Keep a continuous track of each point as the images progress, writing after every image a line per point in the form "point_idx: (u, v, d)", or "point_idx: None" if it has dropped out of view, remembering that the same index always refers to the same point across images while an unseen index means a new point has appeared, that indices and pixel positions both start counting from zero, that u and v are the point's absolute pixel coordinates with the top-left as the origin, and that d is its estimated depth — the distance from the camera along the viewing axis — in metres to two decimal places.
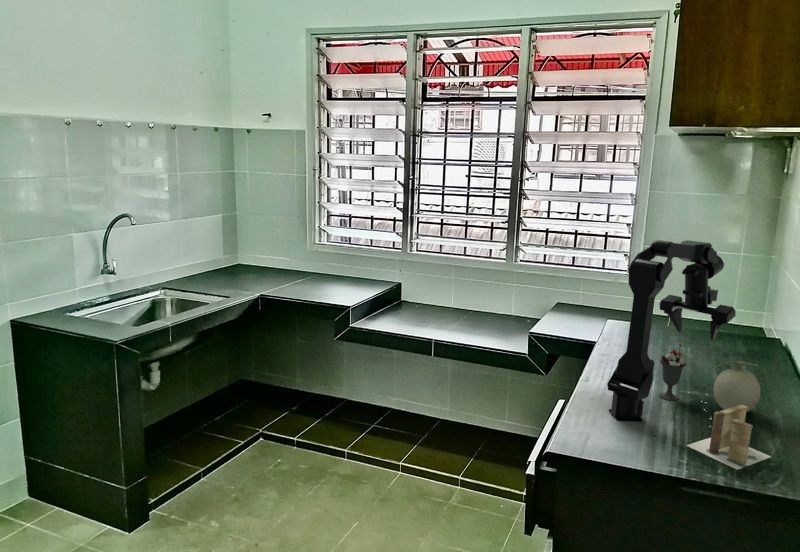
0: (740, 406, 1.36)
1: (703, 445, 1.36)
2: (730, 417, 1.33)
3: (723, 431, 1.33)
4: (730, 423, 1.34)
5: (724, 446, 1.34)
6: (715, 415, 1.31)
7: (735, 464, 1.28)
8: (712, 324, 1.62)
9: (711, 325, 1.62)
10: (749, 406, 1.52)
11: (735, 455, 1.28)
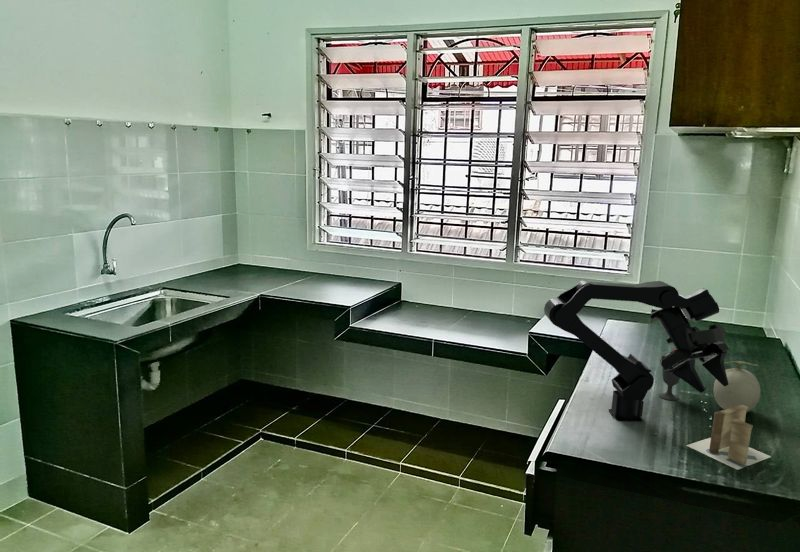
0: (740, 406, 1.36)
1: (703, 445, 1.36)
2: (730, 417, 1.33)
3: (723, 431, 1.33)
4: (730, 423, 1.34)
5: (724, 446, 1.34)
6: (715, 415, 1.31)
7: (735, 464, 1.28)
8: None
9: None
10: (749, 406, 1.52)
11: (735, 455, 1.28)
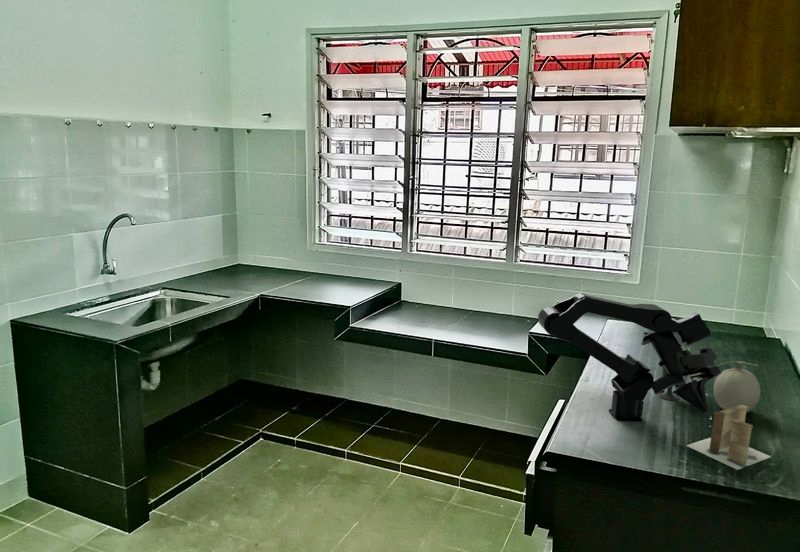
0: (740, 406, 1.36)
1: (703, 445, 1.36)
2: (730, 417, 1.33)
3: (723, 431, 1.33)
4: (730, 423, 1.34)
5: (724, 446, 1.34)
6: (715, 415, 1.31)
7: (735, 464, 1.28)
8: None
9: None
10: (749, 406, 1.52)
11: (735, 455, 1.28)
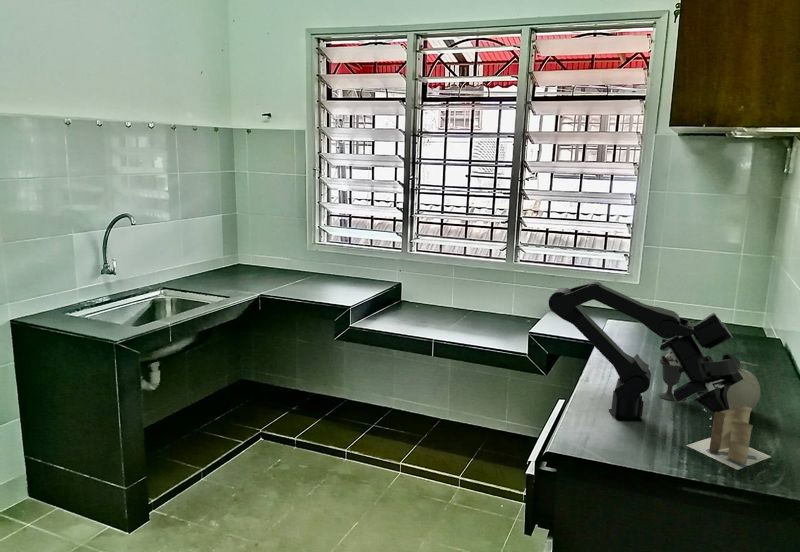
0: (743, 407, 1.35)
1: (703, 445, 1.36)
2: (731, 418, 1.33)
3: (724, 431, 1.33)
4: (731, 424, 1.33)
5: (725, 447, 1.34)
6: (715, 415, 1.31)
7: (735, 464, 1.28)
8: None
9: None
10: (749, 406, 1.52)
11: (735, 455, 1.28)
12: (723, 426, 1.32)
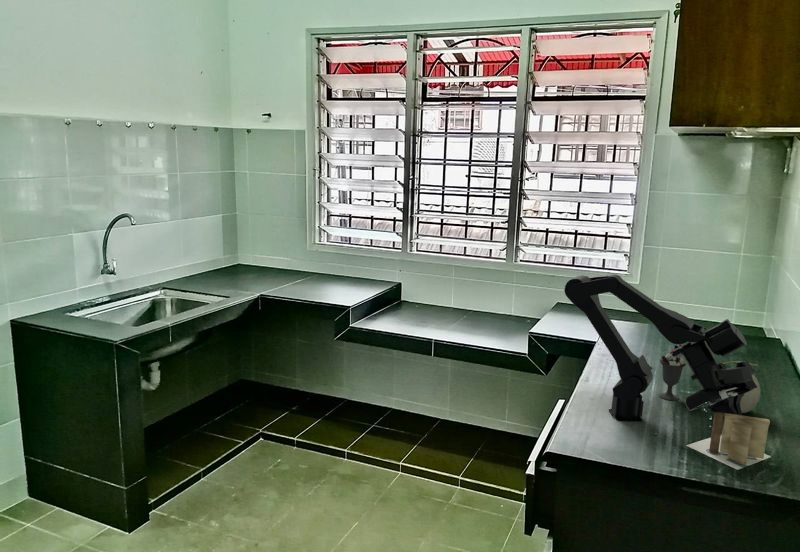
0: (761, 419, 1.29)
1: (703, 445, 1.36)
2: None
3: (725, 434, 1.31)
4: None
5: None
6: (715, 415, 1.31)
7: (735, 464, 1.28)
8: None
9: None
10: (749, 406, 1.52)
11: (735, 455, 1.28)
12: (724, 428, 1.31)
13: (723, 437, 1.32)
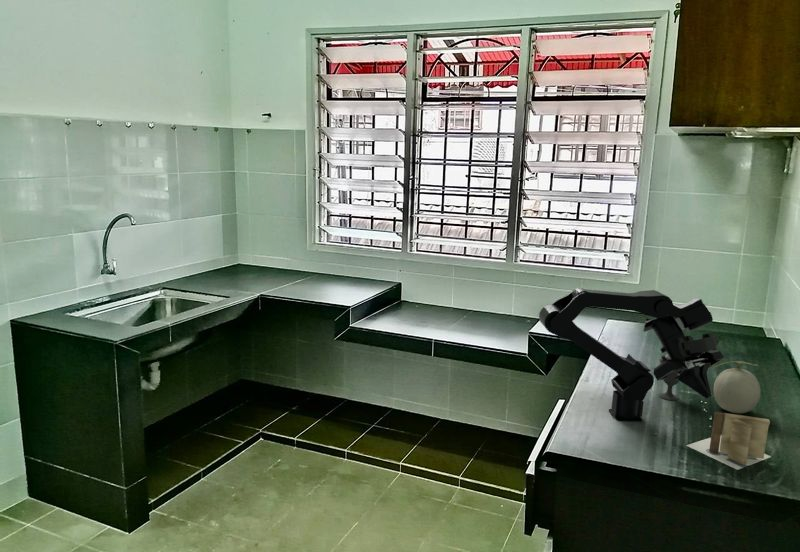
0: (761, 419, 1.29)
1: (703, 445, 1.36)
2: None
3: (725, 434, 1.31)
4: None
5: None
6: (715, 415, 1.31)
7: (735, 464, 1.28)
8: None
9: None
10: (749, 406, 1.52)
11: (735, 455, 1.28)
12: (724, 428, 1.31)
13: (723, 437, 1.32)
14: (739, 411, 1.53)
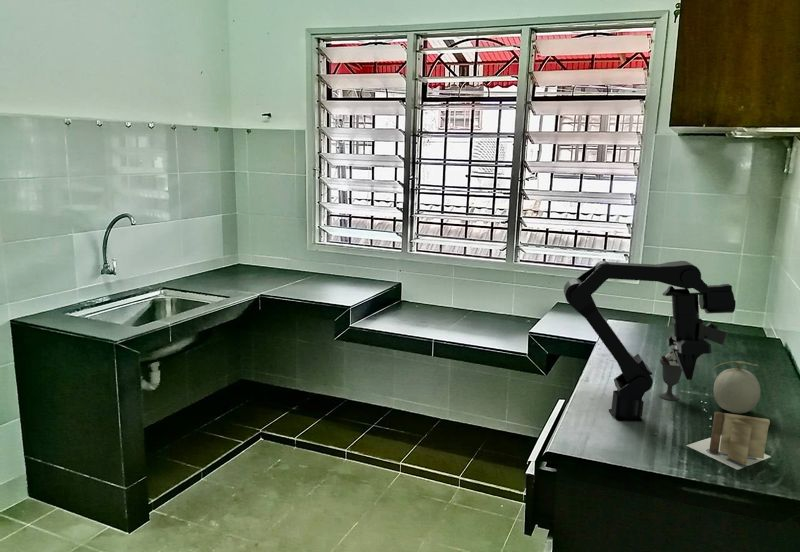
0: (761, 419, 1.29)
1: (703, 445, 1.36)
2: None
3: (725, 434, 1.31)
4: None
5: None
6: (715, 415, 1.31)
7: (735, 464, 1.28)
8: (676, 354, 1.43)
9: (676, 355, 1.43)
10: (749, 406, 1.52)
11: (735, 455, 1.28)
12: (724, 428, 1.31)
13: (723, 437, 1.32)
14: (739, 411, 1.53)
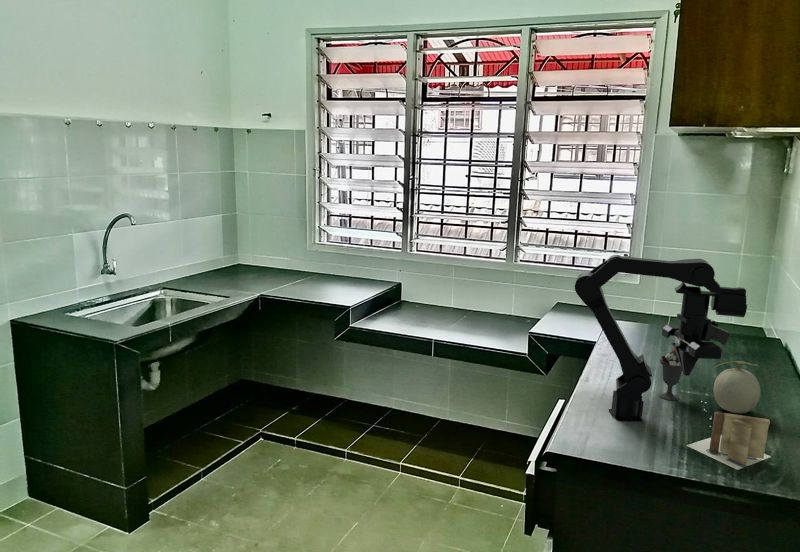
0: (761, 419, 1.29)
1: (703, 445, 1.36)
2: None
3: (725, 434, 1.31)
4: None
5: None
6: (715, 415, 1.31)
7: (735, 464, 1.28)
8: (680, 351, 1.42)
9: (680, 353, 1.43)
10: (749, 406, 1.52)
11: (735, 455, 1.28)
12: (724, 428, 1.31)
13: (723, 437, 1.32)
14: (739, 411, 1.53)
